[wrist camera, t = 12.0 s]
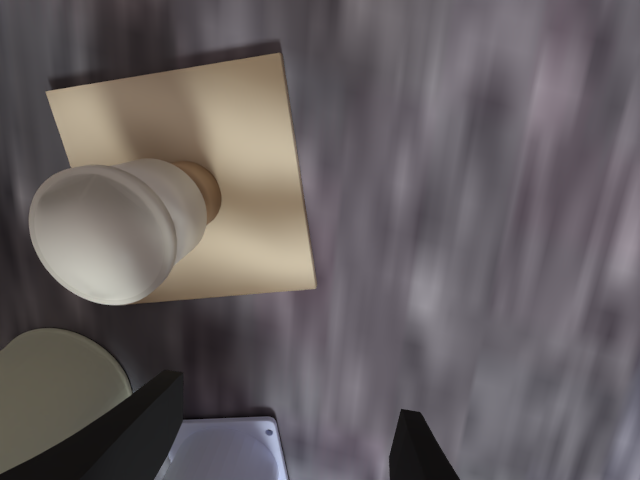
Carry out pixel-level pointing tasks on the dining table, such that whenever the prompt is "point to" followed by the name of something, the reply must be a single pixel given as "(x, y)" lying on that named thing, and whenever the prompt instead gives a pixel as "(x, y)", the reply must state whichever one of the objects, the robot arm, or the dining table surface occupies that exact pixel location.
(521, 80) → the dining table surface
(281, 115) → the square wooden board
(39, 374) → the can
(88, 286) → the cap
